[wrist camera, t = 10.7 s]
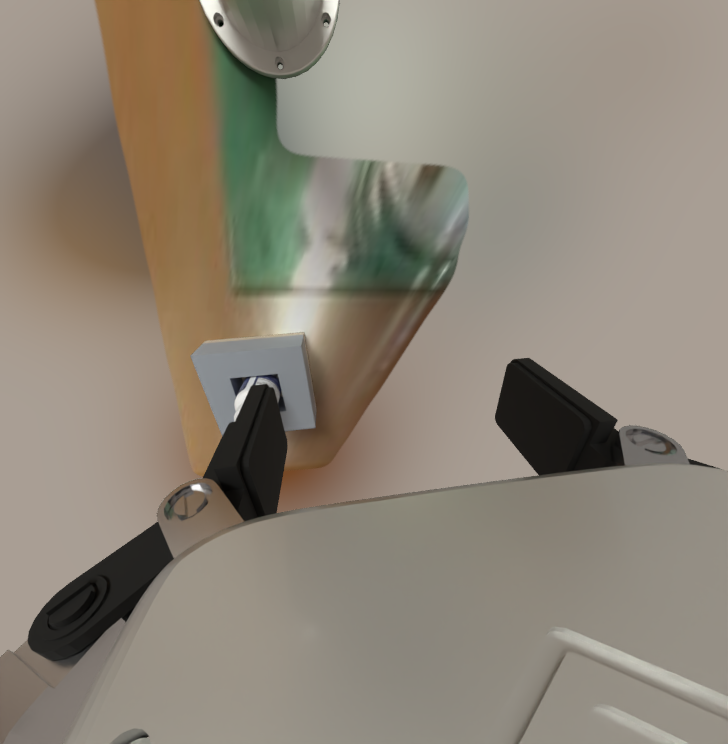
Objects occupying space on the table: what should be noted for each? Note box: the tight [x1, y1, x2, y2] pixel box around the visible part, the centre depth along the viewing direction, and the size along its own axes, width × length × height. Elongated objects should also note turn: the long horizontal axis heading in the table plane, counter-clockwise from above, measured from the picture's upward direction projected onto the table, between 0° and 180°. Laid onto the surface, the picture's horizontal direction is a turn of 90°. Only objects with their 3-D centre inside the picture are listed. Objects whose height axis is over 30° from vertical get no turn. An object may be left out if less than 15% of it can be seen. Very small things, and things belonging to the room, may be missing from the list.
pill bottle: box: [234, 374, 281, 421], centre depth 39 cm, size 5×5×10 cm
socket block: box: [191, 332, 317, 436], centre depth 42 cm, size 14×14×5 cm
